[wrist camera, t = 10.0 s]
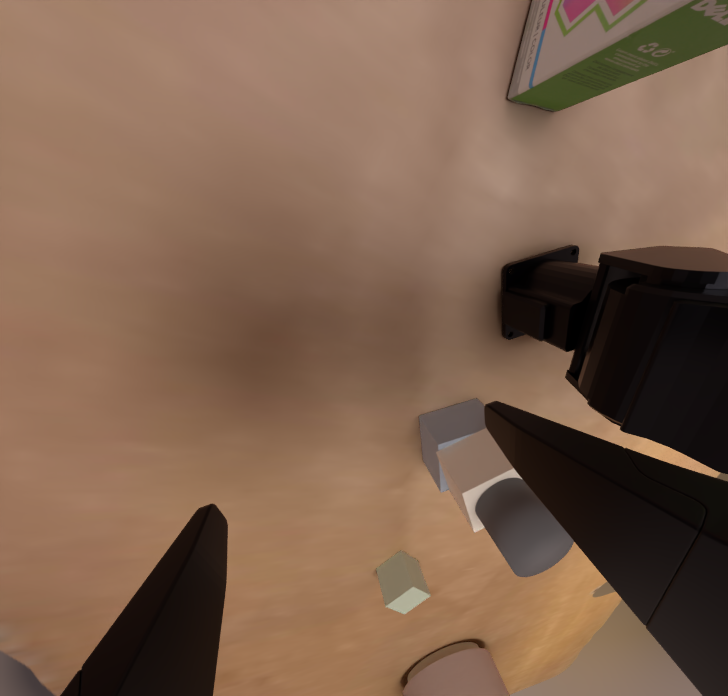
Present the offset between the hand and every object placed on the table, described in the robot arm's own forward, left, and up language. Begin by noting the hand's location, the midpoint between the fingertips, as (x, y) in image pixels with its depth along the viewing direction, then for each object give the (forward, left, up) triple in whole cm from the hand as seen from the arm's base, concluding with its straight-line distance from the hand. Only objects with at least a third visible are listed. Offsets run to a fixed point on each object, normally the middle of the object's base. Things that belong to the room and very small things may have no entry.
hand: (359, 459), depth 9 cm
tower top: (-9, +15, -9) cm, 19 cm away
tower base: (-9, +15, -13) cm, 22 cm away
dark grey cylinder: (-9, +15, -5) cm, 18 cm away
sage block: (0, +34, -13) cm, 36 cm away
